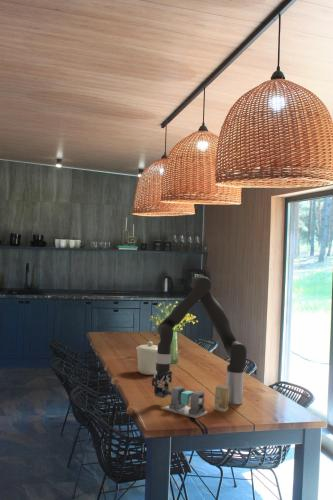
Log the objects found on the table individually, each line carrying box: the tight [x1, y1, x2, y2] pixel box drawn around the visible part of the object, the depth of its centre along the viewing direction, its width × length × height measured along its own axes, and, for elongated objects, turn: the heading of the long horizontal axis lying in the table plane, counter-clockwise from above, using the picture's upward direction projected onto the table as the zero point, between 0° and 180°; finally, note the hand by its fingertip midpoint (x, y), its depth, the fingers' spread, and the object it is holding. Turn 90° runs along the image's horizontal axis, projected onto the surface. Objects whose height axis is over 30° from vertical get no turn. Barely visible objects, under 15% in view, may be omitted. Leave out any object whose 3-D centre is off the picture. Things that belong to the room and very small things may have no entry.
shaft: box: [154, 384, 203, 404], centre depth 262 cm, size 28×5×5 cm, turn 54°
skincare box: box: [213, 384, 230, 413], centre depth 266 cm, size 6×4×12 cm
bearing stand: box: [162, 385, 208, 419], centre depth 260 cm, size 11×20×11 cm, turn 54°
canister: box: [135, 340, 158, 376], centre depth 338 cm, size 18×18×21 cm
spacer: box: [181, 390, 193, 406], centre depth 259 cm, size 6×4×6 cm, turn 144°
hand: (161, 392), depth 269 cm, fingers open, 8 cm apart
